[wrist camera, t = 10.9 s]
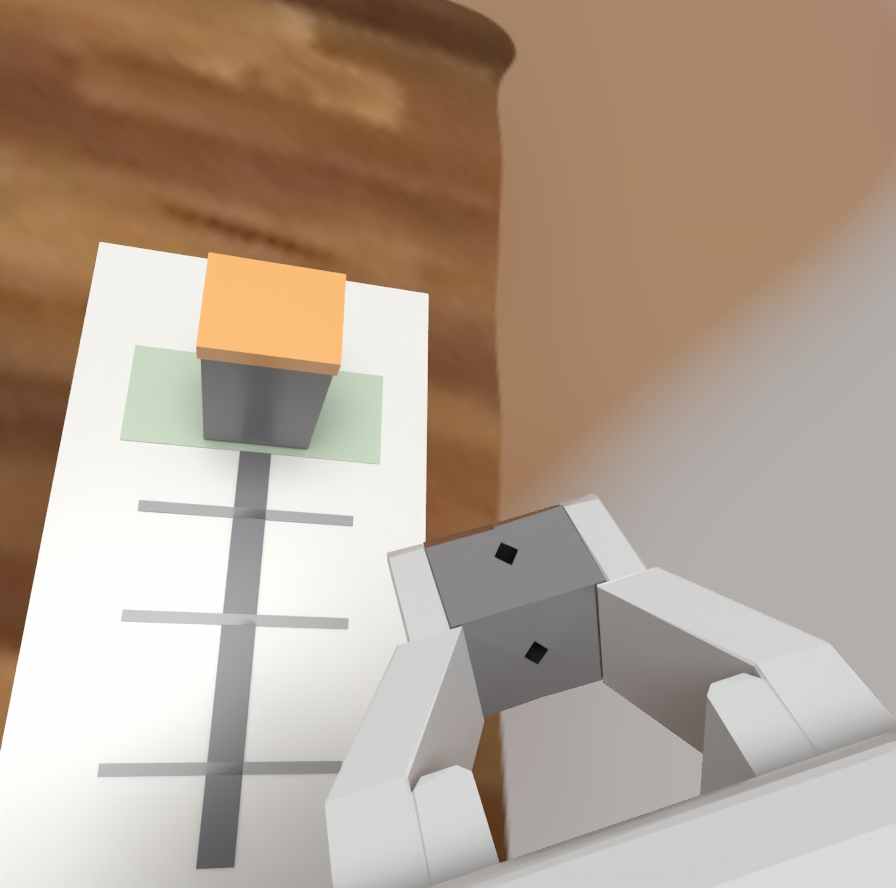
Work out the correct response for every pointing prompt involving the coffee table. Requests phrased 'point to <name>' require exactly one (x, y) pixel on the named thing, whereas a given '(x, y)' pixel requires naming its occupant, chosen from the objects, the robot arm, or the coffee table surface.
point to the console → (206, 601)
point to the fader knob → (267, 349)
